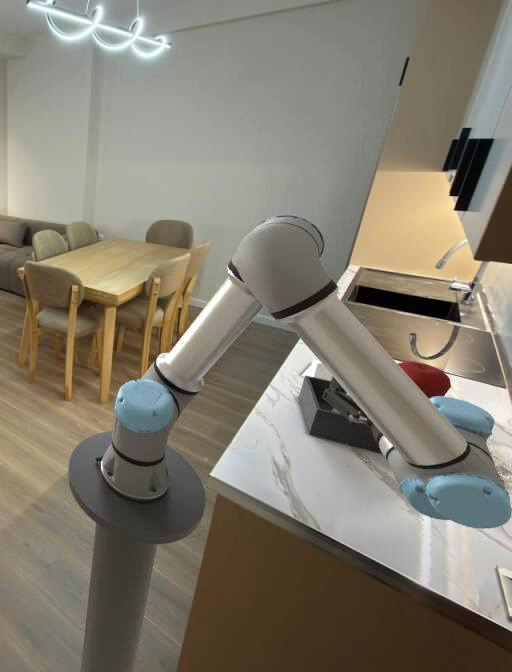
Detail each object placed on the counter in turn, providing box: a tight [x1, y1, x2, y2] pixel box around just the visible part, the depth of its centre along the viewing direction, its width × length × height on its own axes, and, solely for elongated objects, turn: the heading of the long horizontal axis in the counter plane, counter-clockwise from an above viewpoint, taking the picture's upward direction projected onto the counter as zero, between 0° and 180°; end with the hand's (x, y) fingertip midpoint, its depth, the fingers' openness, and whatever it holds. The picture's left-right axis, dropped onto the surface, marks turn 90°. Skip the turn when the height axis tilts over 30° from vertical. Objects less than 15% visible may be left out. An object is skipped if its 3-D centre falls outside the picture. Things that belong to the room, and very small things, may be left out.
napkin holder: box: [301, 359, 333, 381], centre depth 125 cm, size 15×11×6 cm
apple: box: [397, 360, 452, 399], centre depth 112 cm, size 12×12×13 cm
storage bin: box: [298, 375, 382, 454], centre depth 105 cm, size 18×18×8 cm
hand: (368, 387), depth 94 cm, fingers open, 13 cm apart
